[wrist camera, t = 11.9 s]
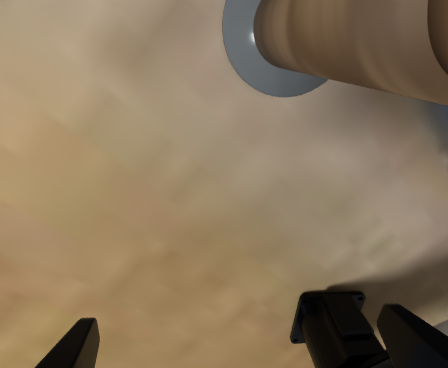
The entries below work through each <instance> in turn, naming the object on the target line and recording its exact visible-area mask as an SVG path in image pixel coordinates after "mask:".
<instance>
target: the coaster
mask: <svg viewBox="0 0 448 368" xmlns="http://www.w3.org/2000/svg"><path fill="white" fill-rule="evenodd" d="M260 1H261V0H226V3H225V7H224V12H223V21H222V32H223V41H224V45H225V50H226V53H227V55H228V58H229V60H230V62H231V64H232V66H233V68H234V69H235V71H236V72H237V74H238V75H239V76H240V77H241V78H242V79H243V80H244V81H245V82H246V83H247V84H248V85H250V86H251V87H253V88H254V89H256V90H258V91H260V92H262V93H264V94H267V95H271V96H276V97H293V96H298V95H301V94H305V93H307V92H309V91H312V90H314V89H315V88H317V87H319V86H320V85H321V84H323V83H324V82H325V81H327V80H328V79H326V78H322V77H317V76H313V75H308V74H304V73H299V72H295V71H290V70H286V69H281V68H278V67H275V66H273V65H271V64H270V63H268V62H267V61H266V60H265V59H264V58H263V57H262V55H261V54H260V53H259V51H258V49H257V46H256V44H255V40H254V34H253V23H254V17H255V13H256V10H257V7H258V5H259V3H260Z"/></svg>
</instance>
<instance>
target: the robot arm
mask: <svg viewBox="0 0 448 368" xmlns="http://www.w3.org/2000/svg"><path fill="white" fill-rule="evenodd" d="M365 298H366V297H365V295H364V294H363V292H337V293H312V294H303V295H301V296H300V298H299V302H298V306H297V310H296V314H295V318H294V322H293V327H292V331H291V335H290V340H291V342H292V343H293V344H298V343H306V346H307V348H308V351H309V353H310V356H311V358H312V361H313V363H314V366H315V368H448V336H447V335H445V334H443V333H442V332H440V331H439V330H437V329H436V328H434V327H433V326H431V325H430V324H428V323H427V322H425V321H424V320H422V319H421V318H419V317H418V316H416V315H415V314H413V313H412V312H410V311H409V310H407V309H406V308H404V307H403V306H401V305H400V304H397V303H387V304H384V305H383V307H382V309H381V312H380V314H379V317H378V319H377V327H378V330H379V333H380V335H381V337H382V340H383V342H384V344H385V346H386V349H387V350H384V348H383V347H382V345H381V344H380V342H379V340H378V339H377V337H376V336H375V334H374V330H373V328H372V327H371V325H370V324H369V322H368V321H367V319H366V318H365V316H364V315H363V313H362V312H361V309H362V306H363V303H364V301H365ZM99 342H100V336H99V330H98V325H97V320H96V318H81V319H80V320H78V321H77V322H76V323H75V325H74V326H73V327H72V328H71V329H70V330H69V331H68V332H67V333H66V334H65V335H64V336H63V338H62V339H61V340H60V341H59V342H58V343H57V344H56V345H55V346H54V347H53V348H52V349H51V350H50V352H49V353H48V354H47V355H46V356H45V357H44V358H43V359H42V360H41V361H40V362H39V363H38V365H37V366H36V367H35V368H95V363H96V358H97V353H98V348H99Z"/></svg>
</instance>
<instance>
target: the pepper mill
mask: <svg viewBox="0 0 448 368" xmlns="http://www.w3.org/2000/svg"><path fill="white" fill-rule="evenodd" d="M253 34H254V40H255V44H256V46H257V49H258V51H259V53H260V54H261V55H262V57H263V58H264V59H265V60H266V61H267V62H268V63H270V64H271V65H273V66H275V67H278V68H281V69H286V70H290V71H295V72H299V73H304V74H308V75H313V76H317V77H322V78H326V79H331V80H335V81H340V82H344V83H349V84H353V85H358V86H362V87H367V88H371V89H376V90H381V91H385V92H390V93H394V94H399V95H403V96H408V97H412V98H417V99H421V100H426V101H430V102H435V103H439V104H444V105H448V0H261V1H260V3H259V5H258V7H257V10H256V13H255V17H254V23H253Z"/></svg>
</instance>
